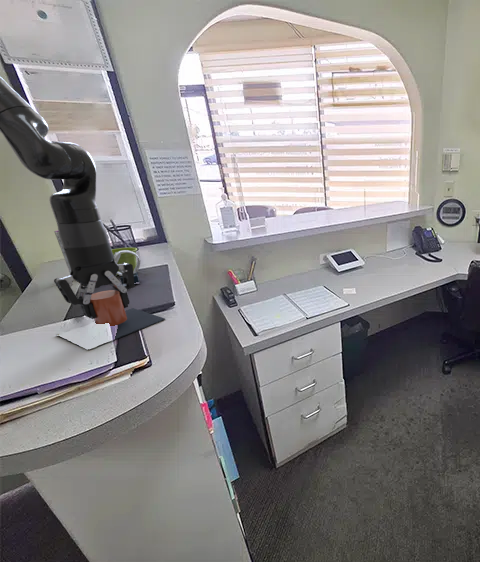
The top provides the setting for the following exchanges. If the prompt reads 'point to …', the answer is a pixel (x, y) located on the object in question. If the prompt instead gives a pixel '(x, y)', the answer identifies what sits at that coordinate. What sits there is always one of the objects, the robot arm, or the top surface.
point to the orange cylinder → (108, 307)
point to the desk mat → (136, 322)
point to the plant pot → (126, 257)
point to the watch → (136, 278)
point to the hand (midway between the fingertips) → (108, 312)
